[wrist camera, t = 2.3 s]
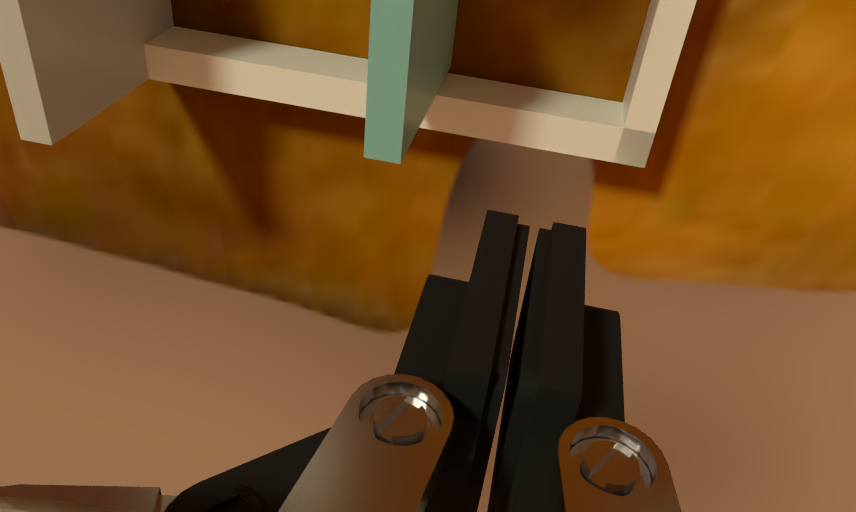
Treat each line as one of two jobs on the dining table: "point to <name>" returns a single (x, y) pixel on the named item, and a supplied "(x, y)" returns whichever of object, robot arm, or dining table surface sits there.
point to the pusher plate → (405, 70)
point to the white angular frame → (307, 77)
